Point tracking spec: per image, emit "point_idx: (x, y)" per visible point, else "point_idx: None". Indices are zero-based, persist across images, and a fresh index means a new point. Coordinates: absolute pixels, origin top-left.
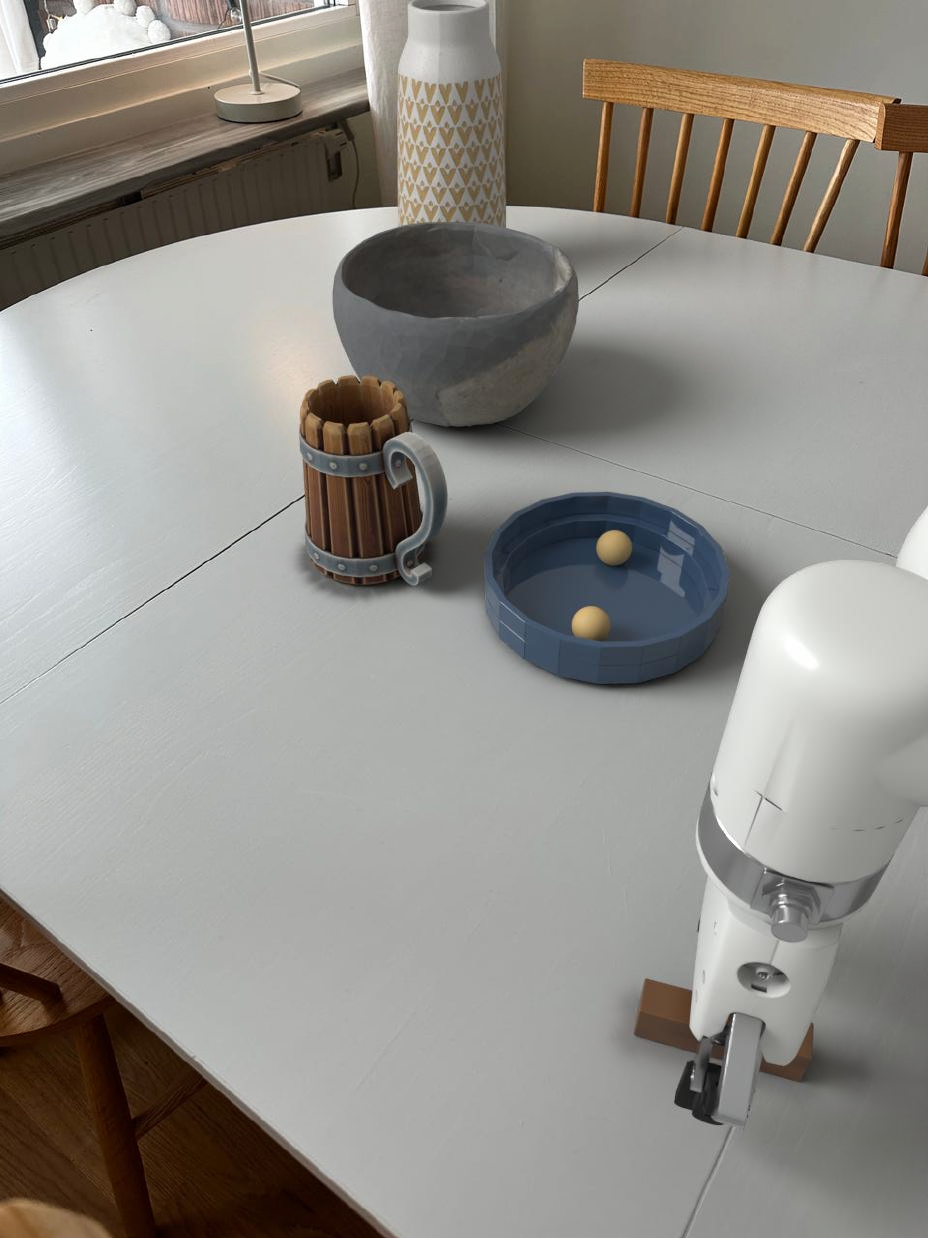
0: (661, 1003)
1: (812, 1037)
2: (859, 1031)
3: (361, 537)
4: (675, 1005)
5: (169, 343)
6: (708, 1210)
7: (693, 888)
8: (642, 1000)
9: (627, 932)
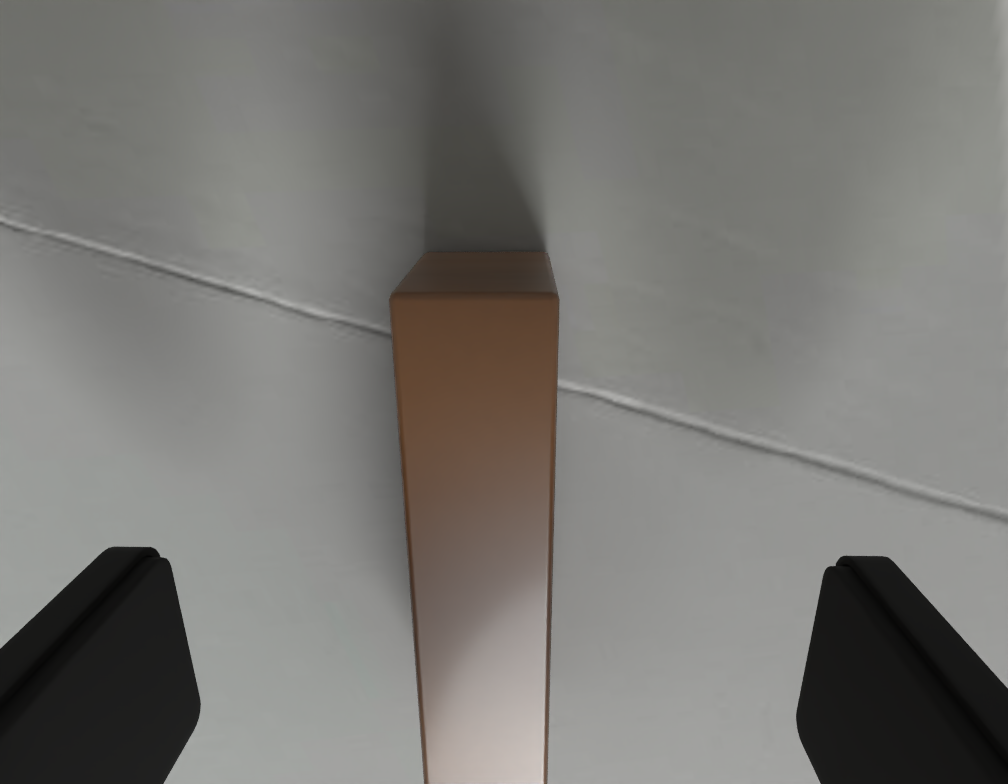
0: (498, 780)
1: (460, 299)
2: (283, 33)
3: None
4: (491, 747)
5: None
6: (968, 476)
7: (28, 598)
8: None
9: (257, 728)
